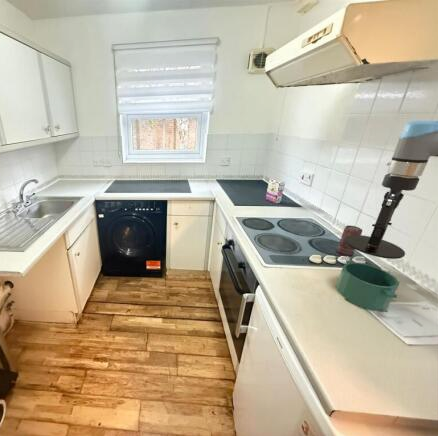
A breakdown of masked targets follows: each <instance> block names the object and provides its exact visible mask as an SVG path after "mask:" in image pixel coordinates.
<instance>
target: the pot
mask: <svg viewBox="0 0 438 436" xmlns="http://www.w3.org/2000/svg"><path fill="white" fill-rule="evenodd" d="M399 286H400V281H399V280H398V279H397V277H396V276H395V275H393V274H391V273H390V272H388V271H386V270H384V269H382V268H380V267H377V266H374V265H371V264H367V263H362V262H356V261H354V260H353V259H352V260H351V259H350V260H349V259H346V260H345V263H344V264H343V266H342V269H341V271H340V273H339V277H338V279H337V282H336V284H335V289H336V291H337V292H338V293H339V294H340V295H341V297H343V299H344V300H346V301H347V302H349V303H350V304H353V305H355V306H357V307H360V308H362V309H365V310H371V311H378V310H379V311H385V310H386V309H388V308H389V306H390V303H391V302H392V300H393V299H397V298H398V295H397V294H396V292H397V290H398V287H399ZM384 309H385V310H384Z"/></svg>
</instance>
